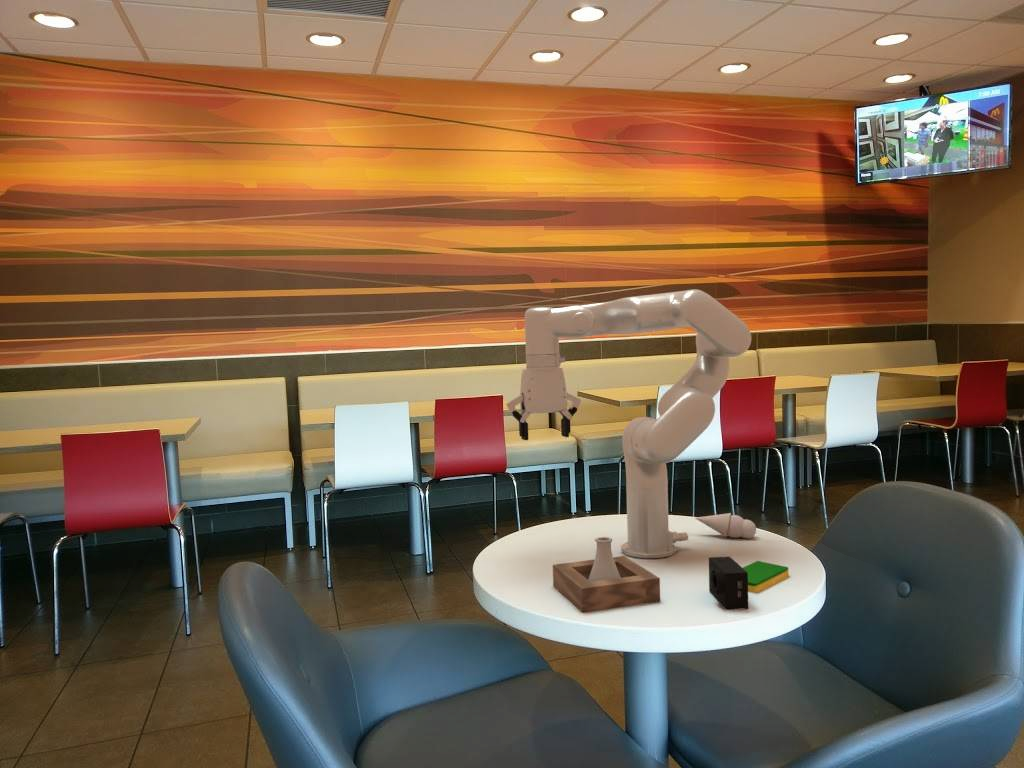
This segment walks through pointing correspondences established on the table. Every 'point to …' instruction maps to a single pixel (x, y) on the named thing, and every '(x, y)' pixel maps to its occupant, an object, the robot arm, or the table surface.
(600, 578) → the flask
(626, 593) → the condiment dock
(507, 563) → the table surface
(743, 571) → the digital camera
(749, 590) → the dish sponge
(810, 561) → the table surface
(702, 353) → the robot arm
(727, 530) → the ice cream cone
